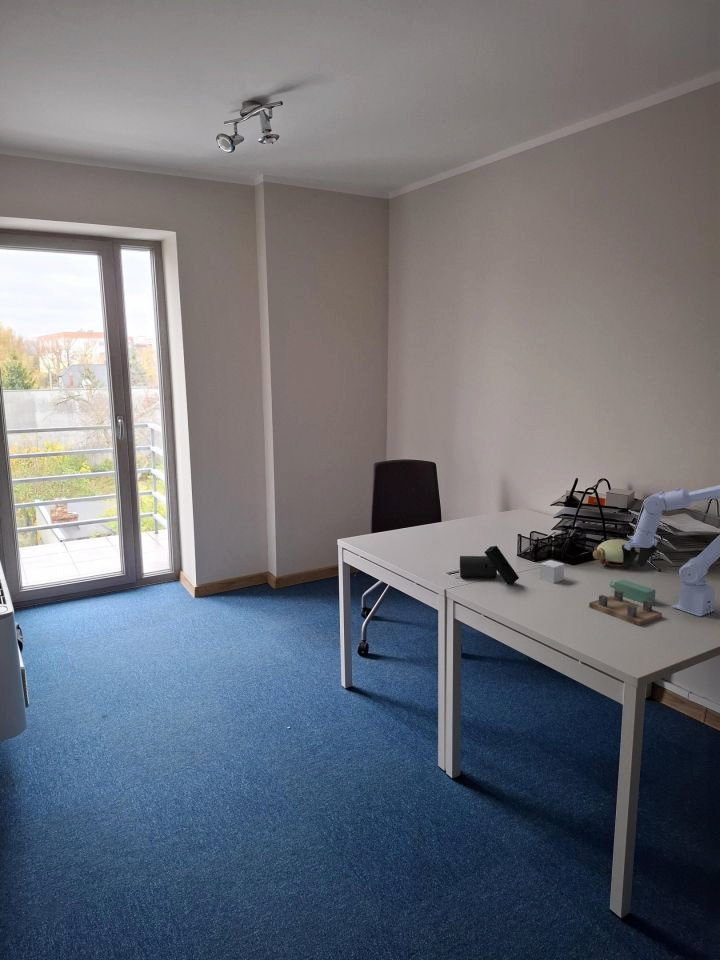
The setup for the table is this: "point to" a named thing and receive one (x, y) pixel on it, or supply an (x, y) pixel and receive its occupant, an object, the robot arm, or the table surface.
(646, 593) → the green bottle
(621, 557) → the cream rounded piece
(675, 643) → the table surface
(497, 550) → the track light
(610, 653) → the table surface
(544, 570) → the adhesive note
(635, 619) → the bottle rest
